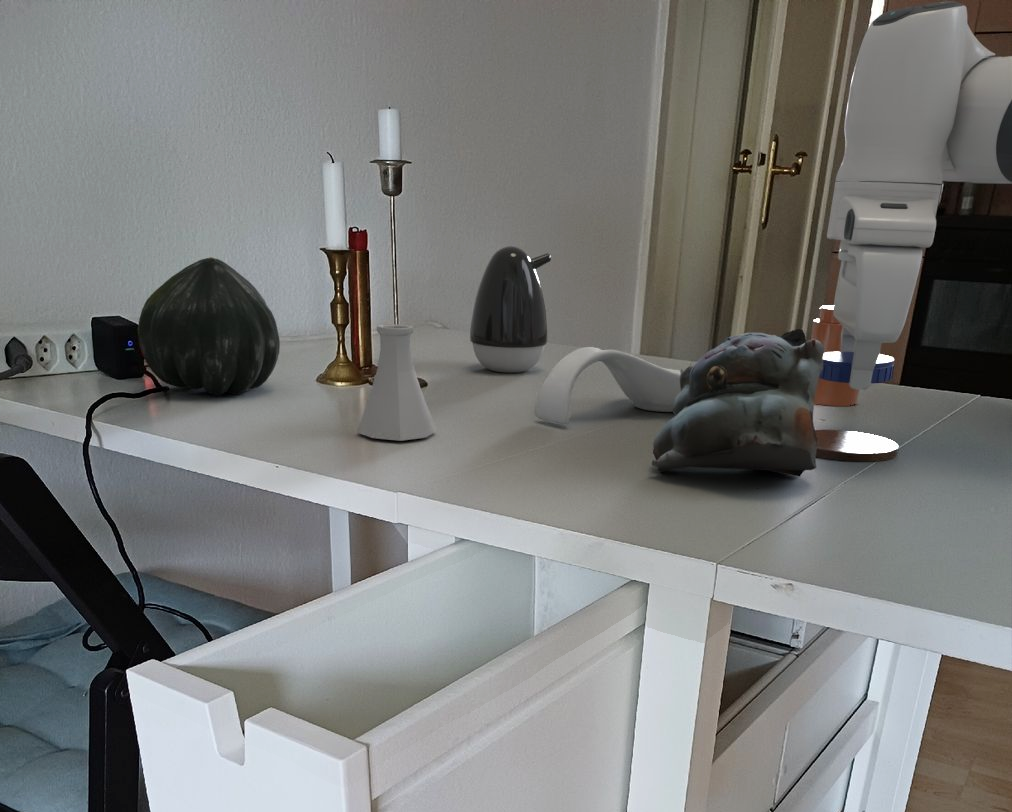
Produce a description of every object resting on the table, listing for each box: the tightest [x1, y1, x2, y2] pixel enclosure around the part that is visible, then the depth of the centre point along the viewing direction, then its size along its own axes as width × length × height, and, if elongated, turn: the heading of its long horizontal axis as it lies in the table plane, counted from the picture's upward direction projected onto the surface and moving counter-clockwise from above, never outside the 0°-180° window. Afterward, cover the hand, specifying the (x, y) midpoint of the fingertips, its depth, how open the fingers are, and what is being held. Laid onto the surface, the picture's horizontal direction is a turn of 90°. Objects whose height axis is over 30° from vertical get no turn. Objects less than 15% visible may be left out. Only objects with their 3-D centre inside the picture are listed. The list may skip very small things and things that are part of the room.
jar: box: [810, 305, 860, 407], centre depth 119 cm, size 6×6×10 cm
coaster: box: [815, 429, 899, 463], centre depth 98 cm, size 10×10×1 cm
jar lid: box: [819, 352, 895, 385], centre depth 95 cm, size 7×7×2 cm
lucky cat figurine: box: [651, 328, 825, 477], centre depth 87 cm, size 15×12×14 cm
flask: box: [356, 323, 437, 442], centre depth 96 cm, size 7×7×10 cm
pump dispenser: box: [469, 245, 552, 374], centre depth 132 cm, size 10×10×15 cm
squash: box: [137, 257, 281, 396], centre depth 113 cm, size 14×15×15 cm
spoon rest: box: [534, 346, 681, 425], centre depth 109 cm, size 24×12×7 cm, turn 131°
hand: (852, 381), depth 95 cm, fingers closed on jar lid, 7 cm apart
